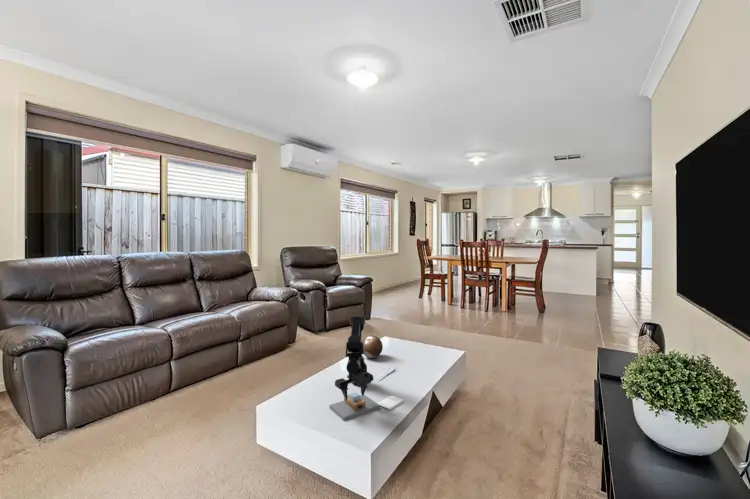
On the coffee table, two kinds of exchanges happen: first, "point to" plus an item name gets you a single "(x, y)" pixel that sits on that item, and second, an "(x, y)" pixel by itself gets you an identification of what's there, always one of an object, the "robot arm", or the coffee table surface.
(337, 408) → the slate dock
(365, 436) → the coffee table surface
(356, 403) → the board
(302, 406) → the coffee table surface
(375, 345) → the wooden sphere
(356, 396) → the pale blue square block
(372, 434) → the coffee table surface
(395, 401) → the external hard drive
